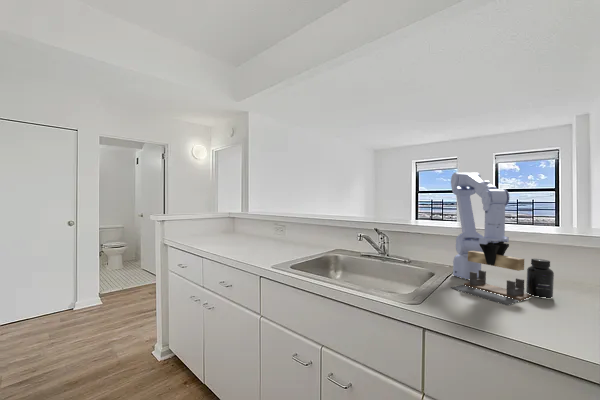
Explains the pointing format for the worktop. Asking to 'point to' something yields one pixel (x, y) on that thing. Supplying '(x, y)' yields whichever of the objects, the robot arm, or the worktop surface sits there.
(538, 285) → the supplement bottle
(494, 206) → the robot arm
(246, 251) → the worktop surface
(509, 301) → the mat
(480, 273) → the stand
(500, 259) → the rail
